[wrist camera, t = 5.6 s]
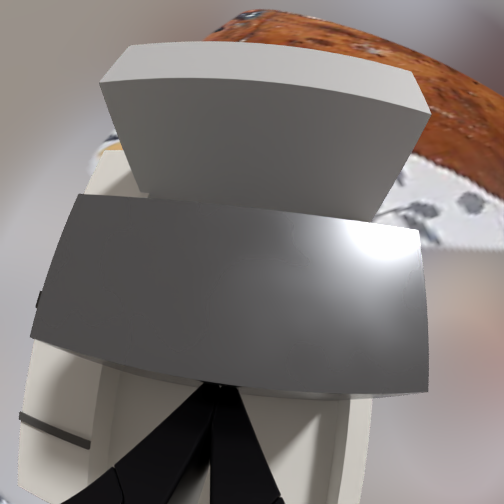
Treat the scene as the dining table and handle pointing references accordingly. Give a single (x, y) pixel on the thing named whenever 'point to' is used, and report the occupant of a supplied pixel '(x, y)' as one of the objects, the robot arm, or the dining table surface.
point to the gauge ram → (239, 298)
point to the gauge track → (144, 403)
